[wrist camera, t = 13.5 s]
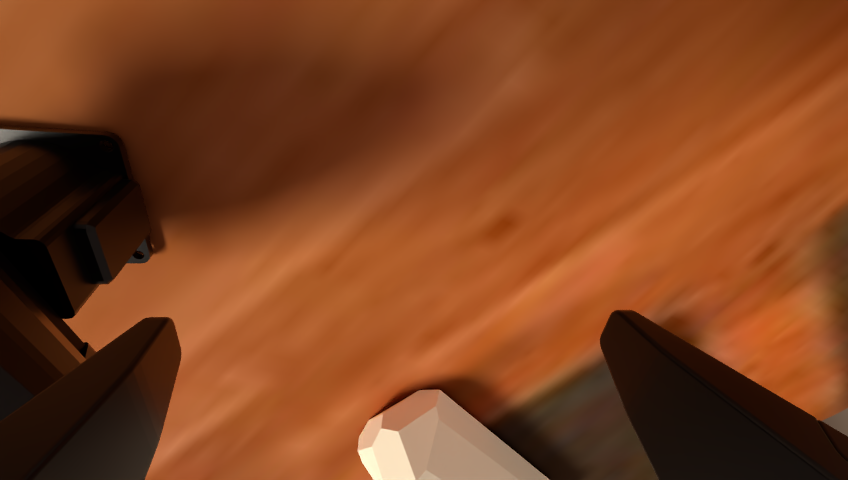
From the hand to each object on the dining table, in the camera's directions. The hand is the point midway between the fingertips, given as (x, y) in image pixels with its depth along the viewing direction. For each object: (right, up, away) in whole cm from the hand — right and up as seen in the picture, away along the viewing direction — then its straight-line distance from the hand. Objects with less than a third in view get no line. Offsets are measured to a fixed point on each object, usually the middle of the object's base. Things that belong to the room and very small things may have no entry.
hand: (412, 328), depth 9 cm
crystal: (+4, -17, +28) cm, 32 cm away
